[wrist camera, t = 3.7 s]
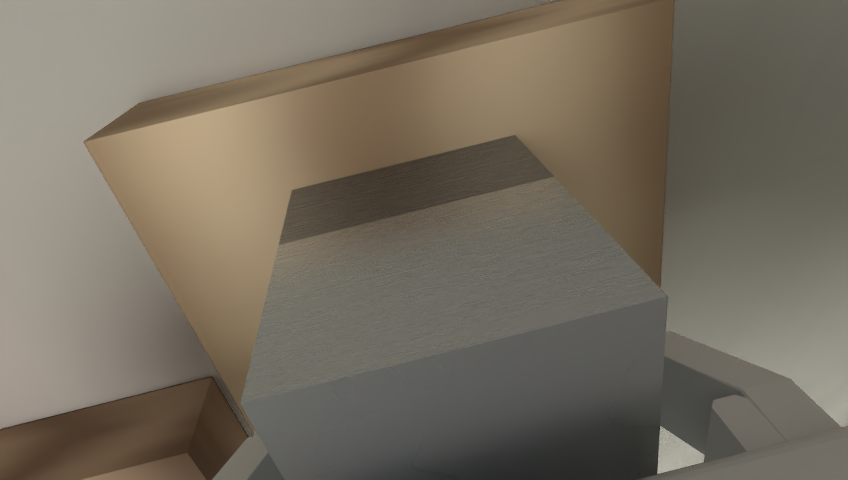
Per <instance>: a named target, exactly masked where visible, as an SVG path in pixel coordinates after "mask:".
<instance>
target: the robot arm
mask: <svg viewBox="0 0 848 480" xmlns="http://www.w3.org/2000/svg"><path fill="white" fill-rule="evenodd" d="M660 426H662V427H663V428H665V429H666V430H668V431H669V432H671V433H672V434H674V435H676V436H677V437H679V438H680V439H682V440H683V441H685V442H686V443H688V444H689V445H691V446H692V447H694V448H695V449H697V450H698V451H700V452H701V453H703V454H704V455H705V458H704V463H700V464H696V465H692V466H688V467H684V468H680V469H676V470H672V471H668V472H664V473H661V474H657V475H653V476H649V477H645V478H641V479H637V480H848V426H845V427H840V426H839V425H838V424H837V423H836V422H835V421H834V420H833V419H832V418H831V417H830V416H829V415H828V414H827V413H826V412H825V411H824V410H823V409H822V408H820V407H819V406H818V405H817V404H816V403H815V402H814V401H813V400H812V399H811V398H810V397H809V396H808V395H807V394H806V393H805V392H804V391H803V390H802V389H800V388H799V387H798V386H797V385H796V384H795V383H794V382H793V381H792V380H791V379H789V378H787V377H784V376H782V375H779V374H777V373H774V372H772V371H769V370H767V369H764V368H762V367H759V366H756V365H754V364H751V363H749V362H746V361H744V360H741V359H739V358H736V357H734V356H731V355H729V354H726V353H724V352H721V351H719V350H716V349H713V348H711V347H708V346H706V345H703V344H701V343H698V342H696V341H693V340H691V339H688V338H686V337H683V336H681V335H678V334H675V333H673V332H666V333H665V349H664V366H663V383H662V400H661V416H660ZM212 480H284V478H283V477H282V475H281V473H280V471H279V470H278V468H277V466H276V464H275V463H274V461H273V459H272V458H271V456H270V454H269V452H268V451H267V449H266V447H265V445H264V444H263V442H262V440H261V439H260V437H259V435H258V433H257V432H256V430H255V432H254V436H253V437H249V438H247V439H246V440H245V441H244V442H243V444H242V445H241V446H240V447H239V448H238V449H237V451H236V452H235V453H234V454H233V455H232V457H231V458H230V459H229V460H228V461H227V463H226V464H225V465H224V466H223V467H222V468H221V470H220V471H219V472H218V473H217V474H216V476H215V477H214V478H213V479H212Z"/></svg>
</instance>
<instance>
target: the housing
mask: <svg viewBox="0 0 848 480" xmlns="http://www.w3.org/2000/svg"><path fill="white" fill-rule="evenodd" d="M667 299H668V296H667V295H666V294H665V293H664V292H663V291H662V290H661V289H660V288H659V287H658V286H657V285H656V284H655V283H654V281H653V280H652V279H651V278H650V277H649V276H648V275H647V274H646V273H645V272H644V271H643V270H642V269H641V268H640V267H639V266H638V265H637V263H636V262H635V261H634V260H633V259H632V258H631V257H630V256H629V255H628V254H627V253H626V252H625V251H624V250H623V249H622V248H621V247H620V245H619V244H618V243H617V242H616V241H615V240H614V239H613V238H612V237H611V236H610V235H609V234H608V233H607V232H606V231H605V230H604V229H603V227H602V226H601V225H600V224H599V223H598V222H597V221H596V220H595V219H594V218H593V217H592V216H591V215H590V214H589V213H588V212H587V211H586V209H585V208H584V207H583V206H582V205H581V204H580V203H579V202H578V201H577V200H576V199H575V198H574V197H573V196H572V195H571V194H570V193H569V192H568V190H567V189H566V188H565V187H564V186H563V185H562V184H561V183H560V182H559V181H558V180H557V179H556V178H555V177H554V176H553V175H552V174H551V172H550V171H549V170H548V169H547V168H546V167H545V166H544V165H543V164H542V163H541V162H540V161H539V160H538V159H537V158H536V157H535V156H534V154H533V153H532V152H531V151H530V150H529V149H528V148H527V147H526V146H525V145H524V144H523V143H522V142H521V141H520V140H519V139H518V138H517V136H516V135H513V136H509V137H505V138H500V139H496V140H492V141H488V142H484V143H480V144H476V145H472V146H468V147H464V148H460V149H456V150H452V151H448V152H444V153H440V154H436V155H431V156H427V157H423V158H419V159H415V160H411V161H407V162H403V163H399V164H395V165H391V166H387V167H383V168H379V169H375V170H371V171H367V172H363V173H358V174H354V175H350V176H346V177H342V178H338V179H334V180H330V181H326V182H322V183H318V184H314V185H310V186H306V187H302V188H298V189H294V190H292V191H291V195H290V200H289V204H288V208H287V212H286V216H285V220H284V225H283V229H282V233H281V237H280V241H279V245H278V249H277V254H276V258H275V262H274V266H273V270H272V274H271V279H270V283H269V287H268V291H267V295H266V299H265V303H264V308H263V312H262V316H261V320H260V324H259V328H258V333H257V337H256V341H255V345H254V349H253V353H252V358H251V362H250V366H249V370H248V374H247V378H246V382H245V387H244V391H243V395H242V399H241V403H240V404H241V406H242V408H243V409H244V411H245V413H246V414H247V416H248V418H249V420H250V421H251V423H252V425H253V427H254V428H255V430H256V432H257V433H258V435H259V437H260V439H261V440H262V442H263V444H264V445H265V447H266V449H267V451H268V452H269V454H270V456H271V458H272V459H273V461H274V463H275V464H276V466H277V468H278V470H279V471H280V473H281V475H282V477H283V478H284V480H637V479H641V478H645V477H649V476H653V475H657V467H658V450H659V433H660V416H661V400H662V383H663V366H664V349H665V332H666V316H667Z"/></svg>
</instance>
